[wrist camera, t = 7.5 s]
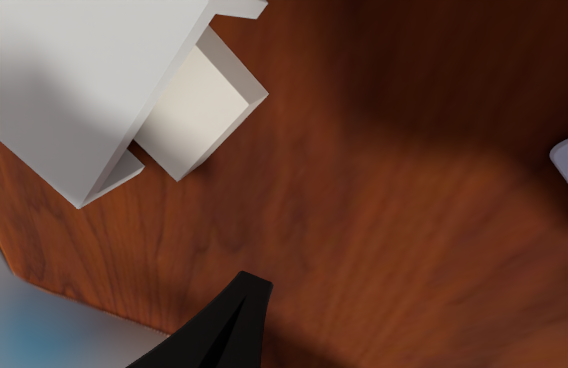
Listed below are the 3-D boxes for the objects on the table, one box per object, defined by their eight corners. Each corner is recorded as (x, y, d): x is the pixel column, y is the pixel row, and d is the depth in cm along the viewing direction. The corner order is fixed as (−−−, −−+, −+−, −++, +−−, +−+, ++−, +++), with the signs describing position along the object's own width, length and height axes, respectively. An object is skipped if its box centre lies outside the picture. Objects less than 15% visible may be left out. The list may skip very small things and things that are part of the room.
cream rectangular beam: (268, 93, 14) (249, 104, 11) (202, 162, 17) (177, 181, 14) (109, -88, 12) (52, -114, 10) (67, 25, 15) (16, 24, 13)
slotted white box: (268, 3, 12) (217, -12, 8) (139, 173, 18) (78, 209, 15) (111, -184, 10) (-41, -308, 7) (33, 72, 17) (-66, 83, 13)
